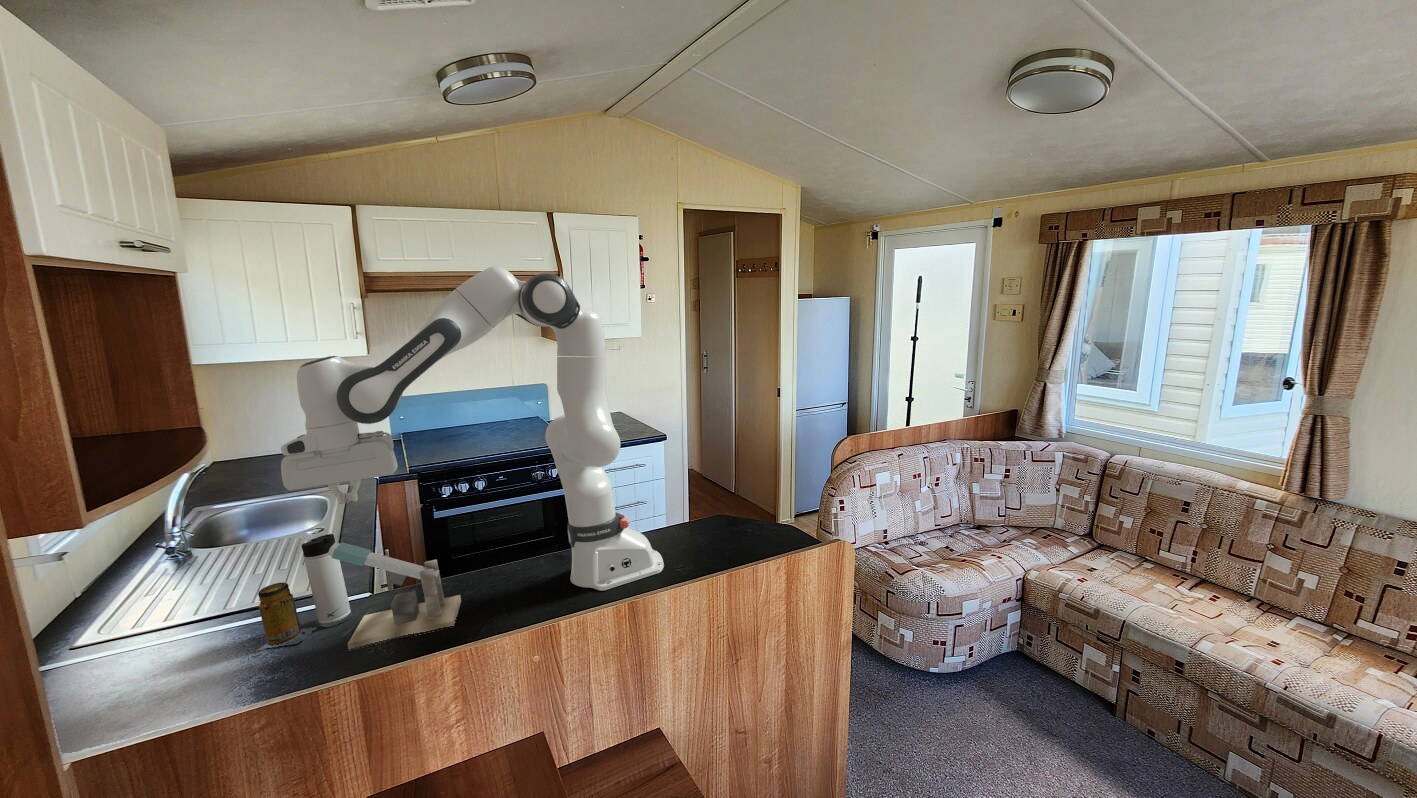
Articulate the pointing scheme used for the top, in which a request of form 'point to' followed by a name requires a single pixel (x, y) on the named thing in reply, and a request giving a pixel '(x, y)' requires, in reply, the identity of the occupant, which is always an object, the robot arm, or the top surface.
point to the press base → (391, 630)
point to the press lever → (377, 562)
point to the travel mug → (326, 580)
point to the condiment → (278, 614)
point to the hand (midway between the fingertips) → (348, 502)
